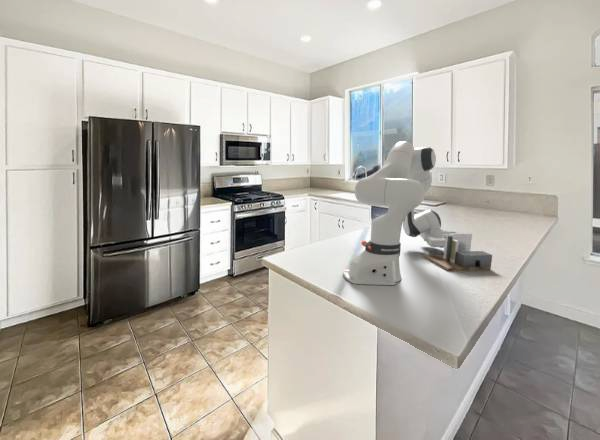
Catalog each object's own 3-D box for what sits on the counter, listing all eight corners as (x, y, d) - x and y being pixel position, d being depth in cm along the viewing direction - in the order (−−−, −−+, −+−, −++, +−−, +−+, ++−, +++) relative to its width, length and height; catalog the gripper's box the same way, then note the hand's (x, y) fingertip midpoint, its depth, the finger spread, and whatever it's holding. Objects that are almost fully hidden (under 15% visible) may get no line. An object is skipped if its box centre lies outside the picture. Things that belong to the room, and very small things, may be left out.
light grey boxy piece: (454, 264, 136) (456, 239, 134) (438, 256, 147) (440, 233, 145) (484, 263, 138) (487, 239, 136) (467, 255, 149) (469, 233, 147)
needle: (447, 261, 141) (449, 236, 139) (445, 260, 142) (448, 235, 140) (449, 261, 141) (452, 236, 139) (448, 260, 143) (450, 235, 141)
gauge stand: (447, 271, 133) (450, 245, 131) (423, 257, 152) (425, 234, 150) (490, 269, 136) (493, 244, 134) (462, 256, 155) (464, 234, 153)
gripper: (422, 232, 159) (438, 239, 145) (460, 232, 162) (478, 238, 148) (421, 245, 160) (436, 253, 146) (458, 244, 163) (477, 251, 149)
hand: (458, 245), depth 147 cm, fingers closed, pressing on light grey boxy piece
